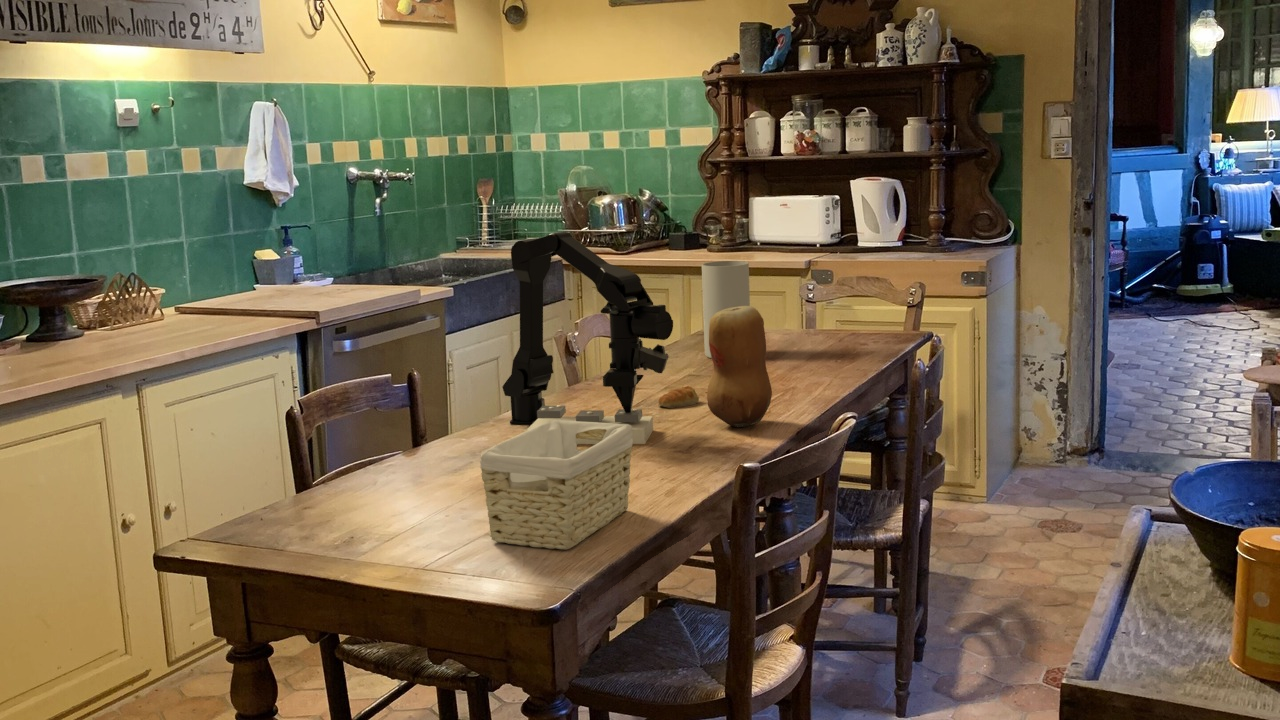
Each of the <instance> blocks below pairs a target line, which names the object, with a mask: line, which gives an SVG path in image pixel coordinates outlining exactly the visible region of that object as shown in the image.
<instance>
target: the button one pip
mask: <svg viewBox="0 0 1280 720" xmlns="http://www.w3.org/2000/svg"><path fill="white" fill-rule="evenodd" d="M604 416H605V412H604V410H603V409H602V410H599V409H598V410H596V409H595V410H588V409H587V410H582V409H581V410H580V411H579V412H578V413H577V414H576V415H575V417H576V421H580V422H598V423H600V422H601V421H602V419H603V418H604Z"/></svg>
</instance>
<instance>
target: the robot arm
mask: <svg viewBox="0 0 1280 720" xmlns="http://www.w3.org/2000/svg"><path fill="white" fill-rule="evenodd" d="M555 256H558V257H560V258H561V259H562V260H564V261H565V262H566V263H567V264H569V265H570V266H572V267H573V268H575V269H576V270H577V271H578V272H580V273H581V274H582V275H584V276H585V277H587V279H589V280H590V281H592V283H594V285H595V287H596V290H597V292H598V293H599V294H600V295H601V296H602V297H603V299H604V300H605V301H606V302H607V303H606V304H605V306H604V307H602V308H601V310H600V314H607V315H609V329H610V330H609V331H610V332H609V333H610V334H609V336H610V342H609V343H608V349H610V350H611V351H610V353H611V354H610V355H611V362H609V370H607V372H606V373H605V374H604V375H603V376H602V386H603V387H605V388H608V387H609V388H610V387H611V388H612V390H613V391H614V392H615V395H616V397H617V398H618V401H619V403H620V405H621V406H622V408H623V409H624V411H625V412H631V409H633V403H634V397H635V392H636V387H637V385H638V384H639V383H640V381H641V380H642V379H643V377H644V374H638V371H637V370H640V369H643V371H647V370H648V369H649V370H650V371H651V370H652V371H653V372H654V373H656V374H663V372H664V371H665V369H666V366H667V363H668V360H669V357H670V356H669V355H668V354H669V353H666V351H665V346H664V345H661V344H656V345H655V346H654V347H653V348H652V347H645V346H643V345H644V344H643V340H642V339H649V340H650V339H651V340H658V341H659V340H660V341H666V340H668V339H669V338H670V337H671V335H672V334H673V329H674V320H673V319H672V316H671V314H670V313H669V312H668V311H667V307H666V305H665V304H657V305H656V304H654V302H653V301H652V299H651V297H650V295H649V293H648V292H647V291H646V288H645V287H644V286H643V284H642V279H641V278H640V276H639V275H638V274H637V273H635V272H633V271H632V270H631V271H630V269H629V270H628V269H626V268H625V267H621V266H616V265H613V264H610V263H609V262H607V261H606V260H604V259H603V258H602V257H601V256H599V254H598V255H597V254H596V253H595V252H593V251H592V250H590V249H589V248H588V247H586V246H585V244H582V243H581V242H579V240H577V239H576V238H574V237H573V235H572V234H571V233H570V232H567V231H557V232H552V233H549V234H548V235H546V236H543V237H536V238H528V239H523V240H517V241H515V243H514V244H513V245H512V246H511V250H510V257H511V265H512V270H513V272H514V274H515V275H516V277H517V279H518V281H519V348H518V350H517V352H516V354H515V356H514V358H513V360H512V367H511V373H510V376H509V377H508V378H507V380H506V381H505V382H504V383H503V385H502V390H503V393H504V396H506V397H510V409H511V410H510V412H511V420H510V421H509V424H513V425H514V424H515V425H517V424H521V425H523V424H527V425H529V424H530V425H532V424H533V423H534V422H535V421H536V420H537V419H538V418H537V411H538V410H539V409H540V408H541V407H542V406H546V404H545V398H544V397H543V396H542V395H543V394H542V392H545V391H548V386H549V381H551V379H552V375H553V374H554V369H553V362H554V357H553V355H552V354H548V353H547V351H546V349H545V348H544V280H545V278H546V277H547V275H548V273H549V271H550V268H551V262H552V257H555Z"/></svg>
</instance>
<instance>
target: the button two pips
mask: <svg viewBox="0 0 1280 720" xmlns="http://www.w3.org/2000/svg"><path fill="white" fill-rule="evenodd" d="M614 416H615V422H639V421H640V419H641V418H642V416H643V409H642V408H641V409H640V408H635V409H634V408H632V409H631V412H625V411H624V409H621V408H620V409H617V411H616V412H615V414H614Z"/></svg>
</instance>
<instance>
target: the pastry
mask: <svg viewBox="0 0 1280 720" xmlns="http://www.w3.org/2000/svg"><path fill="white" fill-rule="evenodd" d="M699 400H700V398H699V395H698V393H697V392H696V390H695V388H694V387H692V386H690V385H687V386H681V387H680V388H679V387H678V388H673V389H670V390H669V391H668V392H667V393H664V394H663V395H662V396H660V398H658V406H659V407H664V408H668V409H674V408H683V407H687V406H691V405H695V404H697V403H698V402H699Z"/></svg>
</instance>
